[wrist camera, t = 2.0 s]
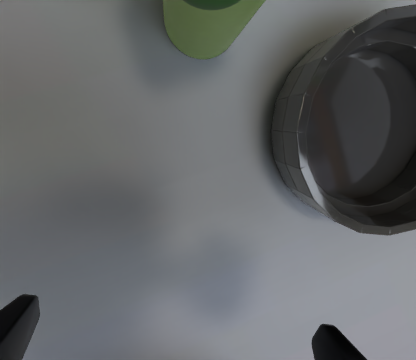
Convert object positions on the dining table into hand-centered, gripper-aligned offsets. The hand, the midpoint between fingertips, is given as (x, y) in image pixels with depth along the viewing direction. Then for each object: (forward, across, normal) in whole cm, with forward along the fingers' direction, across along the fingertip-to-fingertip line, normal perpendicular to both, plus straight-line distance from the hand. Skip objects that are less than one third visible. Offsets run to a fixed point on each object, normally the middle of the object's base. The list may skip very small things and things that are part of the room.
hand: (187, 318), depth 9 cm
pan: (+14, -12, -4) cm, 18 cm away
